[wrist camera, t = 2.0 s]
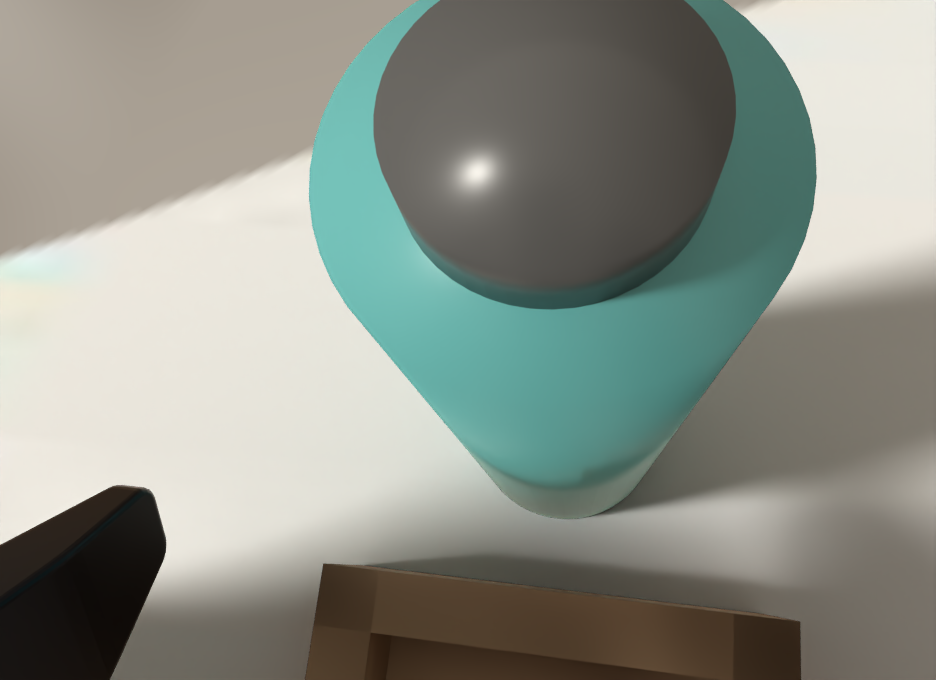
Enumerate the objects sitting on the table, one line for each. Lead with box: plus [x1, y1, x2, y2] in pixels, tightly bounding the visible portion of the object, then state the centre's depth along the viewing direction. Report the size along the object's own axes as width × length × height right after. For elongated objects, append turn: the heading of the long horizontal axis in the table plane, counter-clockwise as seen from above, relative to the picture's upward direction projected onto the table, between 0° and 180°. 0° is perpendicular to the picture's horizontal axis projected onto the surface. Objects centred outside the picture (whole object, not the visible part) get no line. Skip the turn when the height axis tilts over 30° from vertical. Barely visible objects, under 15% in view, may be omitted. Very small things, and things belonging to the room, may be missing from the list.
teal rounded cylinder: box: [309, 0, 817, 519], centre depth 12 cm, size 4×4×14 cm
